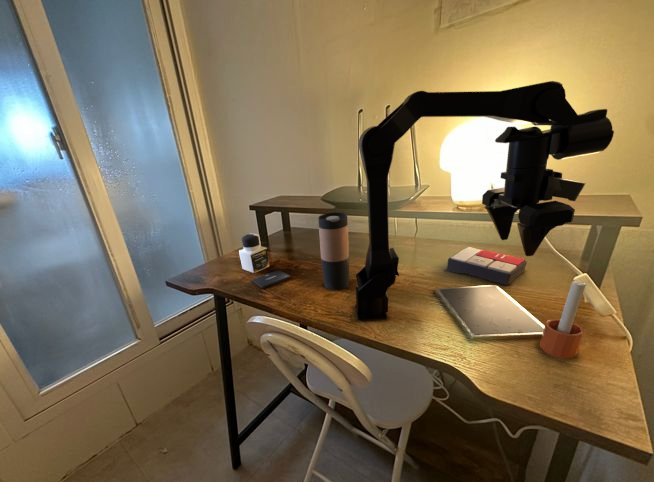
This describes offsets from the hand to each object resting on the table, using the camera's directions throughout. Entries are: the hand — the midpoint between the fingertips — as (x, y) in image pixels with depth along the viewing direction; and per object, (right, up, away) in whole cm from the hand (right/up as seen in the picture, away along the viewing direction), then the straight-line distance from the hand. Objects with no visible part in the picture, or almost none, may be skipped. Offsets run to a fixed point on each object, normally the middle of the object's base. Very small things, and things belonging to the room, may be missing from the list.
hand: (516, 247), depth 60 cm
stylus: (+2, -19, -7) cm, 20 cm away
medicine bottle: (-55, -2, +46) cm, 72 cm away
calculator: (+9, -4, +23) cm, 25 cm away
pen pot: (+2, -19, -7) cm, 20 cm away
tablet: (-2, -13, +6) cm, 15 cm away
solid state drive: (-50, -7, +35) cm, 61 cm away
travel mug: (-31, -8, +27) cm, 42 cm away
